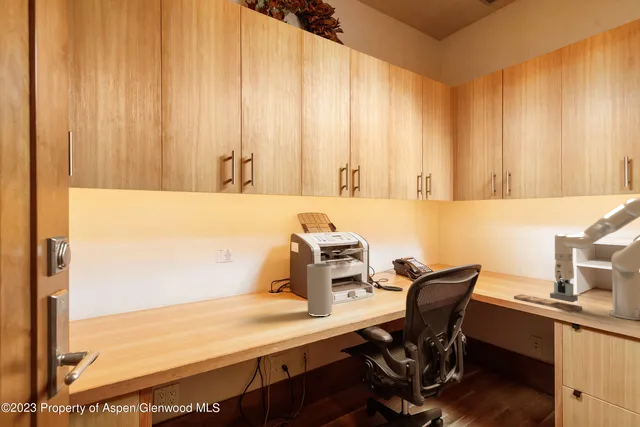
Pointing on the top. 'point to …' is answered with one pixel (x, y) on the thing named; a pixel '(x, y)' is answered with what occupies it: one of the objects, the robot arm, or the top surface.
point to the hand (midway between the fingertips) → (563, 291)
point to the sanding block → (564, 296)
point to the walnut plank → (548, 302)
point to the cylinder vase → (319, 288)
